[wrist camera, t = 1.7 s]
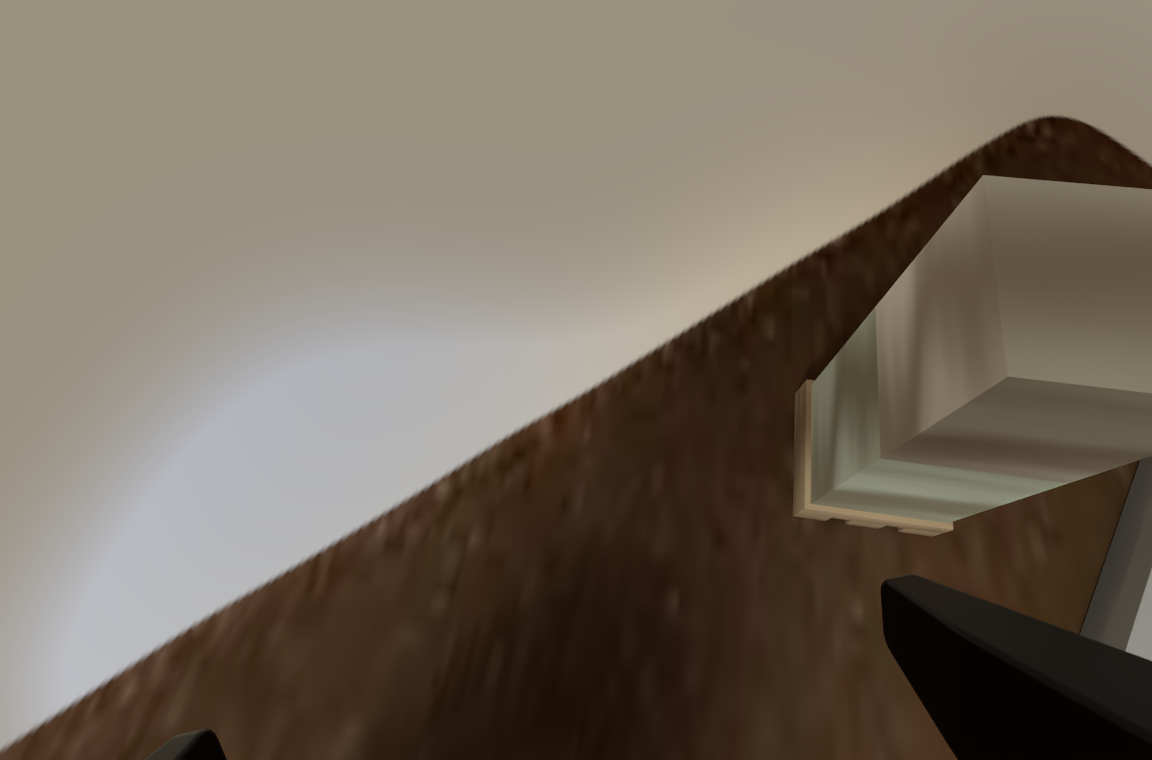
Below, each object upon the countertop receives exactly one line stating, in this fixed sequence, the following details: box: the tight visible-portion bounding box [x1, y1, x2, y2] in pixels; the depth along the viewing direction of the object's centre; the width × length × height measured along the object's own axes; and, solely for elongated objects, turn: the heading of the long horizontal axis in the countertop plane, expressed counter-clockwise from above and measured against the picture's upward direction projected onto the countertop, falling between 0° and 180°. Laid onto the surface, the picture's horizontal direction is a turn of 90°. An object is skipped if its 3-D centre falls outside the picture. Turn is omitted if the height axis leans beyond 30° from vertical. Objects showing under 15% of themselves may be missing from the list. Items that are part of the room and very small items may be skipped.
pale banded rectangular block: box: [793, 175, 1152, 536], centre depth 17 cm, size 5×5×13 cm
